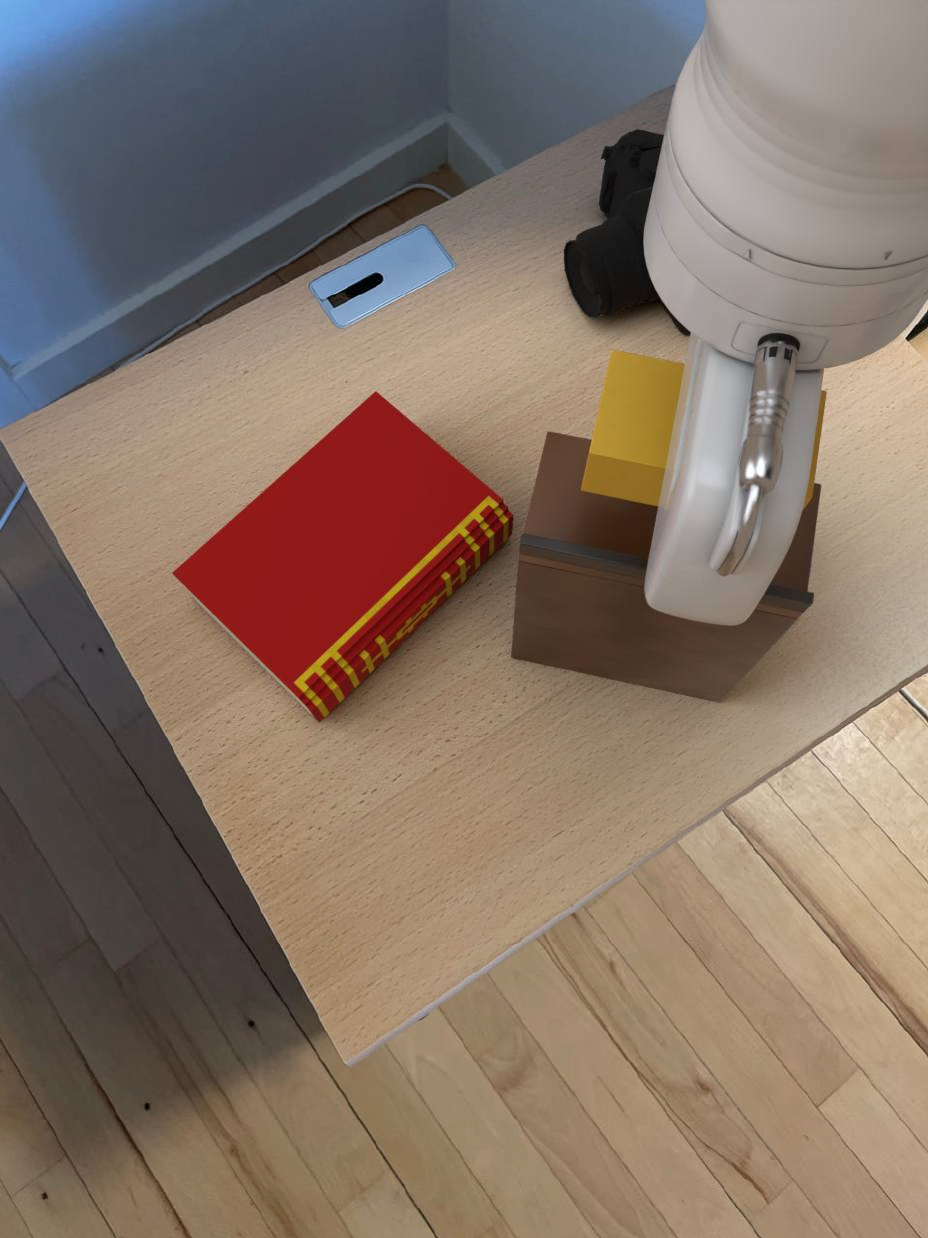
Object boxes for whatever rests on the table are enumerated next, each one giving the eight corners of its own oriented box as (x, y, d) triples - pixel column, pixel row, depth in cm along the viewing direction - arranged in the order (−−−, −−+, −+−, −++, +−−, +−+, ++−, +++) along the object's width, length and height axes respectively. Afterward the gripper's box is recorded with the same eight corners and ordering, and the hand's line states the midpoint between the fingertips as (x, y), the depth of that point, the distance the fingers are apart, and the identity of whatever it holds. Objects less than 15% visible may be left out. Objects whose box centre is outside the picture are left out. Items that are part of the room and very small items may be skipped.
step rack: (748, 525, 68) (829, 392, 52) (720, 703, 64) (799, 619, 48) (550, 485, 69) (568, 343, 53) (510, 657, 65) (518, 561, 49)
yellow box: (602, 393, 45) (611, 348, 41) (801, 432, 44) (827, 390, 40) (580, 490, 43) (588, 452, 40) (786, 533, 42) (812, 497, 39)
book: (321, 726, 64) (308, 707, 59) (194, 599, 67) (171, 573, 62) (511, 539, 68) (513, 508, 63) (383, 428, 71) (375, 390, 66)
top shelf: (815, 492, 50) (830, 472, 48) (799, 619, 48) (813, 603, 46) (546, 439, 51) (548, 418, 49) (518, 561, 49) (519, 543, 47)
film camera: (529, 228, 77) (534, 137, 68) (639, 184, 78) (657, 89, 69) (619, 380, 72) (637, 303, 64) (735, 331, 73) (768, 249, 65)
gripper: (877, 553, 25) (743, 690, 38) (938, -22, 32) (805, 264, 45) (634, 504, 26) (584, 655, 39) (742, -51, 32) (668, 240, 45)
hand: (703, 443), depth 42 cm, fingers closed on yellow box, 5 cm apart
